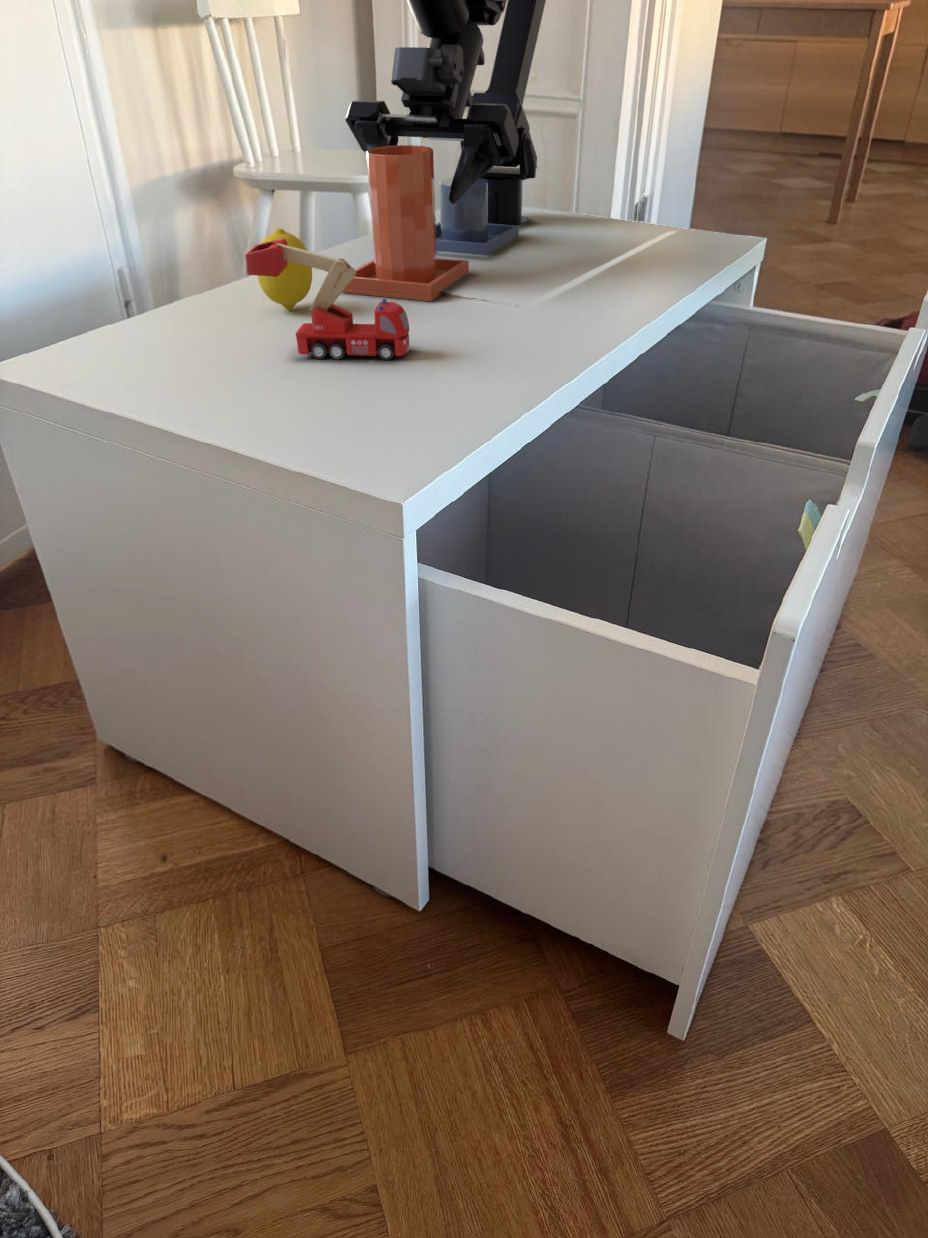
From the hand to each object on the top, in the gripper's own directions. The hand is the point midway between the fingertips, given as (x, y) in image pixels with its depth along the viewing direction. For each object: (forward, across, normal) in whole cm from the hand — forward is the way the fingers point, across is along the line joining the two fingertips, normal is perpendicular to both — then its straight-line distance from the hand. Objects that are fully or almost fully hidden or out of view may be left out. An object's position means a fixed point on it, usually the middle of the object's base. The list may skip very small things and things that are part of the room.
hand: (412, 198), depth 100 cm
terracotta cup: (+7, 0, +4) cm, 8 cm away
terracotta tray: (+8, 0, +4) cm, 9 cm away
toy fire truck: (+24, +4, -12) cm, 27 cm away
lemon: (+17, -8, -5) cm, 19 cm away
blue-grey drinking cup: (-6, 0, +17) cm, 18 cm away
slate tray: (-5, 0, +17) cm, 18 cm away
